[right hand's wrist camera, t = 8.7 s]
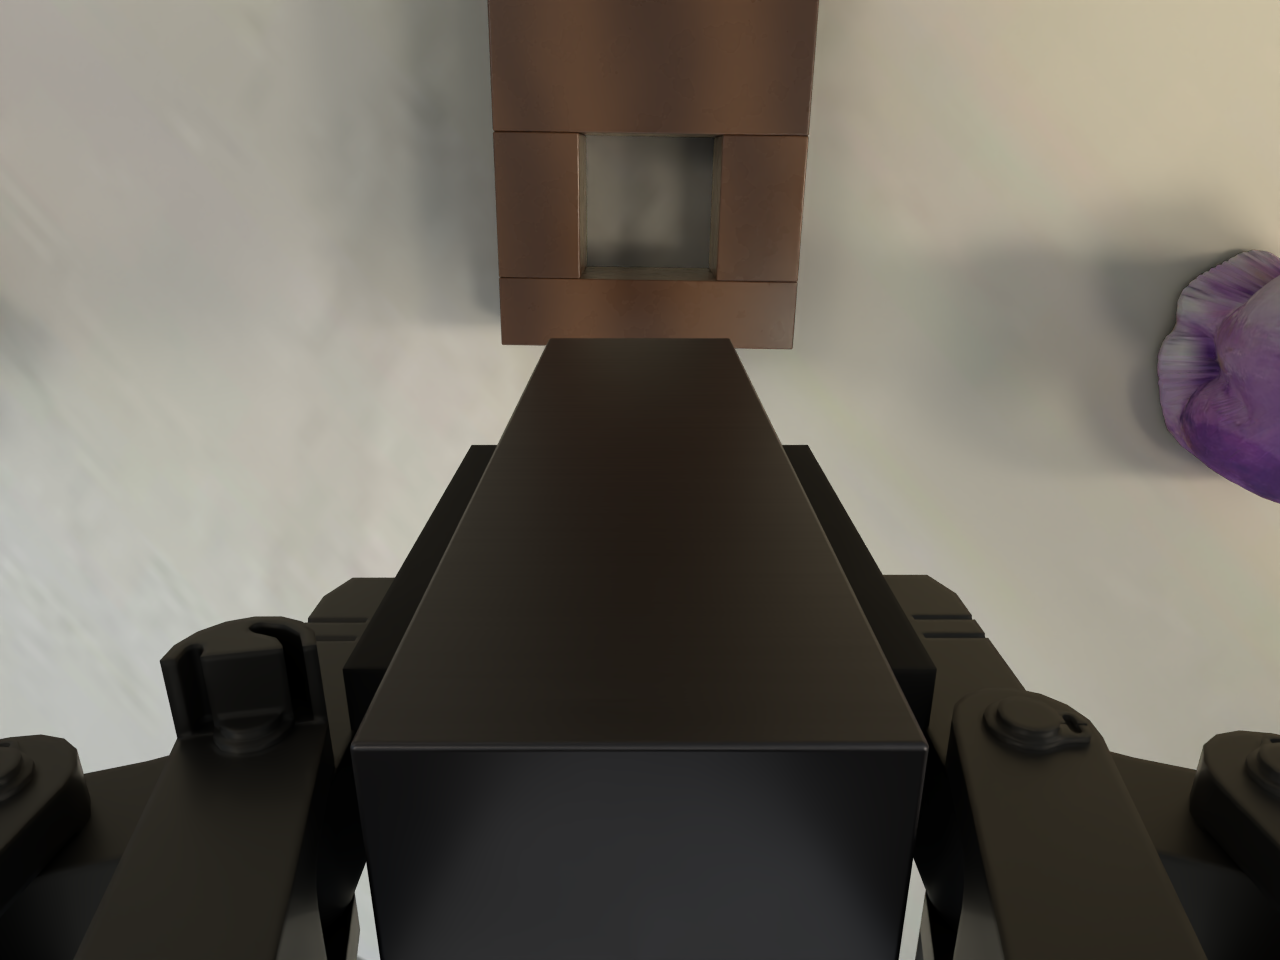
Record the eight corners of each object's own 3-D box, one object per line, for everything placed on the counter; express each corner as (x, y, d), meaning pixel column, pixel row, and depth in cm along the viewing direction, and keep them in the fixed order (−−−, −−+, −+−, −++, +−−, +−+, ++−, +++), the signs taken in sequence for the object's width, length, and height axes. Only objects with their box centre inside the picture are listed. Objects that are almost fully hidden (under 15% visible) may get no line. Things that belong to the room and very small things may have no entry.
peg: (730, 337, 19) (933, 744, 6) (724, 505, 20) (875, 1136, 7) (548, 337, 19) (346, 745, 6) (555, 505, 20) (402, 1136, 7)
